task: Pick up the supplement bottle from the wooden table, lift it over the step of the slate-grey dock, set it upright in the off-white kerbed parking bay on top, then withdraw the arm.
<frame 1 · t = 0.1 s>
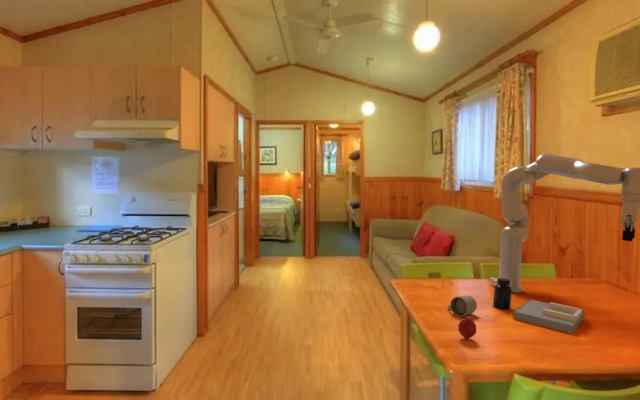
hand: (628, 239, 170), 31 cm above the table, tool pointing down, fingers open, 9 cm apart
supplement bottle: (501, 307, 175), on the table
onion: (466, 339, 140), on the table
ceramic mug: (460, 314, 165), on the table
dock: (548, 318, 163), on the table
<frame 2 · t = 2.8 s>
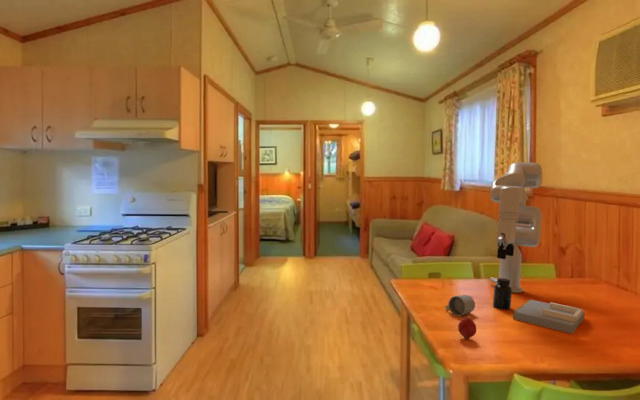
hand: (505, 257, 173), 22 cm above the table, tool pointing down, fingers open, 9 cm apart
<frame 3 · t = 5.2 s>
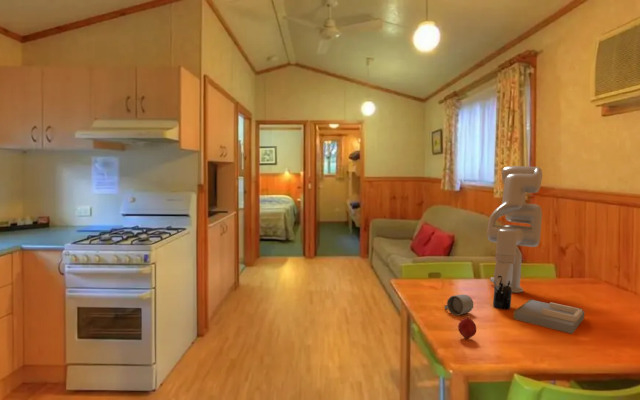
hand: (502, 299, 175), 3 cm above the table, tool pointing down, fingers closed on supplement bottle, 6 cm apart
supplement bottle: (501, 307, 175), on the table, touching gripper
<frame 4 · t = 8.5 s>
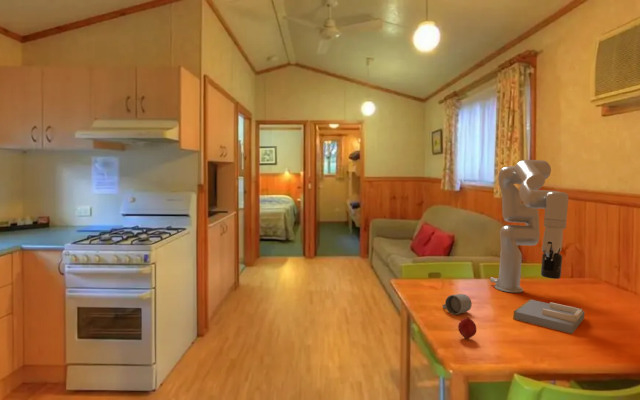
hand: (551, 268, 162), 20 cm above the table, tool pointing down, fingers closed on supplement bottle, 6 cm apart
supplement bottle: (550, 277, 162), point 17 cm above the table, touching gripper
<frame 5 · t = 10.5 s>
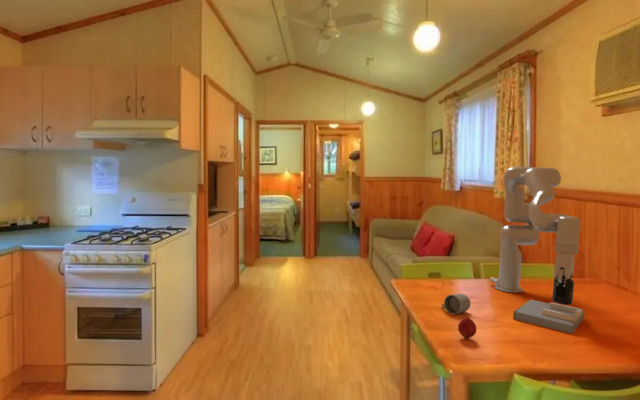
hand: (562, 294, 159), 11 cm above the table, tool pointing down, fingers closed on supplement bottle, 6 cm apart
supplement bottle: (562, 302, 160), point 7 cm above the table, touching gripper
when the fingers open (7 cm above the table, at t = 12.1 s): supplement bottle drops 1 cm, resting on dock.
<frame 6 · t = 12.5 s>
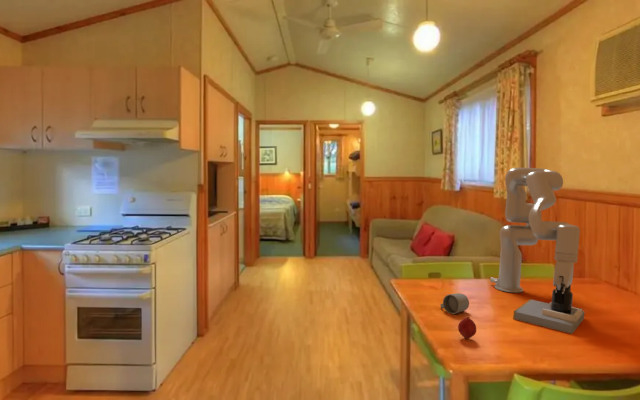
hand: (562, 300, 160), 8 cm above the table, tool pointing down, fingers open, 9 cm apart
supplement bottle: (560, 314, 160), point 3 cm above the table, touching dock
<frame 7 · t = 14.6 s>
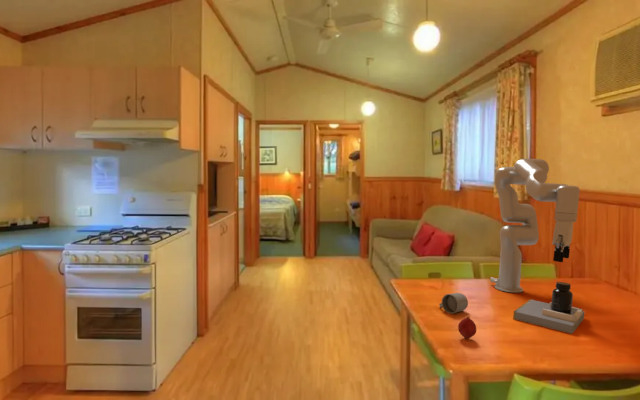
hand: (561, 259, 164), 23 cm above the table, tool pointing down, fingers open, 9 cm apart
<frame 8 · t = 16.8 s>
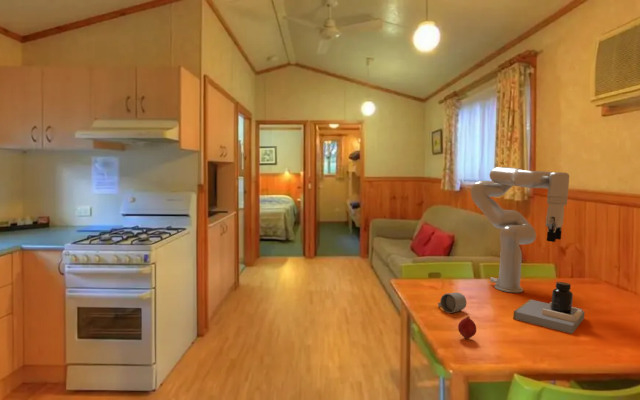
hand: (553, 240, 180), 28 cm above the table, tool pointing down, fingers open, 9 cm apart
at the end: supplement bottle inside the target area on the dock (0.5 cm from its centre), point 2.8 cm above the dock's base; supplement bottle tilted 0°; the gripper is holding nothing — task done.
